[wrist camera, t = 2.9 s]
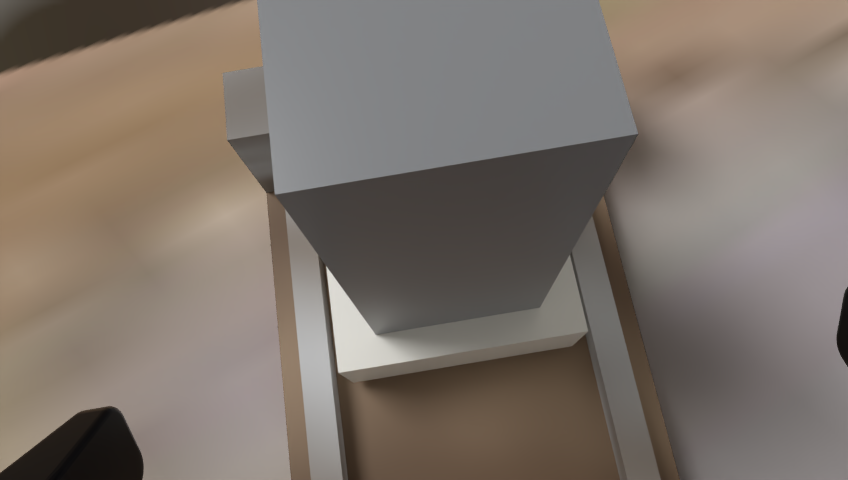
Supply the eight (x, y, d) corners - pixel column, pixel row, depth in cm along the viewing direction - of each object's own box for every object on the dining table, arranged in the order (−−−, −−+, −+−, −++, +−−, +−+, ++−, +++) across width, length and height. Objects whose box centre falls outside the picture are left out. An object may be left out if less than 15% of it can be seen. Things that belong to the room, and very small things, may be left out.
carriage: (572, 346, 17) (751, 180, 7) (353, 382, 17) (186, 276, 7) (529, 163, 19) (618, -196, 8) (331, 197, 19) (170, -123, 8)
